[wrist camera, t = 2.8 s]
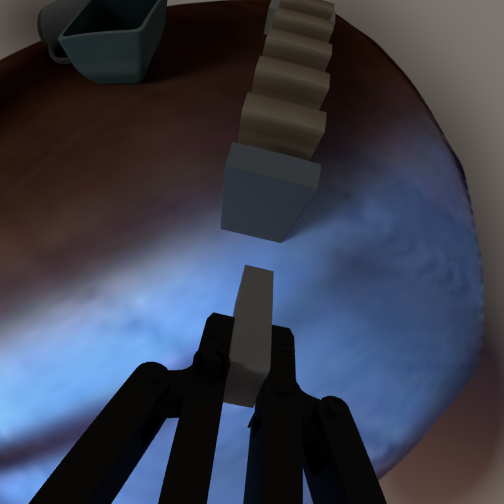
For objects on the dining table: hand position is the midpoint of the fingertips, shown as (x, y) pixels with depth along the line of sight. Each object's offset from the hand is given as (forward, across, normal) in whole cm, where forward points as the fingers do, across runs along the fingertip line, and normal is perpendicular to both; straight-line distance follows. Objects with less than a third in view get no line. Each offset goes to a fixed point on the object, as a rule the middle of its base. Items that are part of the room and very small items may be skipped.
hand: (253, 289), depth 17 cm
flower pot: (+21, -18, +10) cm, 29 cm away
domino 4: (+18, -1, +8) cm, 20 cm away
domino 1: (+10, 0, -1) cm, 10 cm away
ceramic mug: (+25, -29, +14) cm, 41 cm away
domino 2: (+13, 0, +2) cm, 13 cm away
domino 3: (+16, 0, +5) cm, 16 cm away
